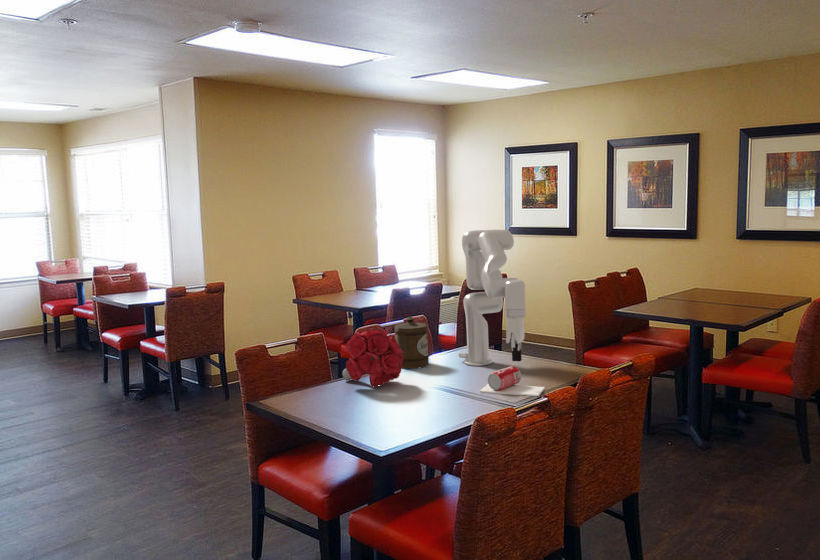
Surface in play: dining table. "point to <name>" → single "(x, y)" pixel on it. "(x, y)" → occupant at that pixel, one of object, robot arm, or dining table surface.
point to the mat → (515, 390)
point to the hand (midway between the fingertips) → (516, 360)
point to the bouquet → (373, 357)
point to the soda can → (504, 378)
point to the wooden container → (412, 343)
